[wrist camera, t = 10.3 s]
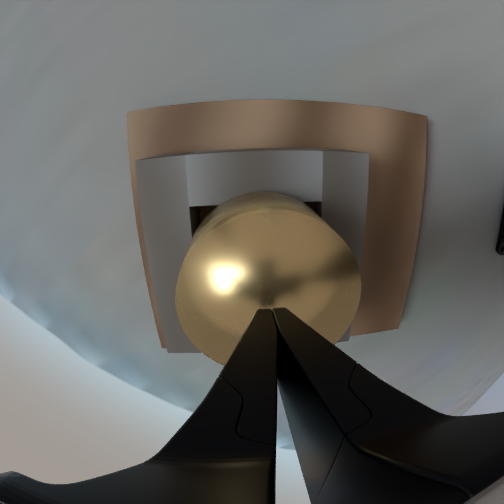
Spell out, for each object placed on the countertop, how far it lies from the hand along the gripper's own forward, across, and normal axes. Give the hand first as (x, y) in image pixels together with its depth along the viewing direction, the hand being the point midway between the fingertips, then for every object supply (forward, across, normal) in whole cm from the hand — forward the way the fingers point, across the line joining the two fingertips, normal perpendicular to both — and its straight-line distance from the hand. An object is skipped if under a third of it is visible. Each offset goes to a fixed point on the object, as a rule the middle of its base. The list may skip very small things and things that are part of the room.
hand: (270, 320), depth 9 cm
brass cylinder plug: (+7, 0, 0) cm, 7 cm away
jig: (+8, -2, 0) cm, 8 cm away
